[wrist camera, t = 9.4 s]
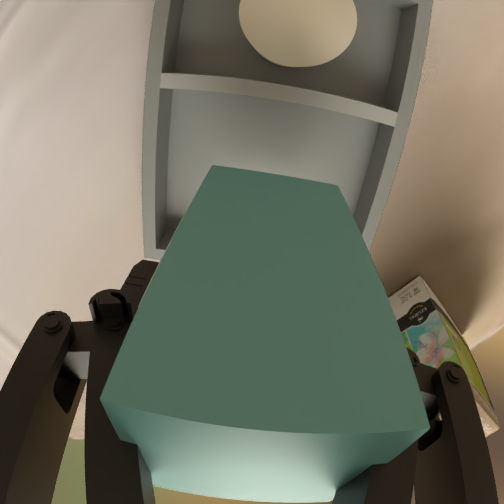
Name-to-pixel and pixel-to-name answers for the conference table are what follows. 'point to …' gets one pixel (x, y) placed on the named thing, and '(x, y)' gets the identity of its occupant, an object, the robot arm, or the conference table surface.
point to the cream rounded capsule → (298, 29)
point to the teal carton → (265, 349)
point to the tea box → (439, 341)
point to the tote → (275, 108)
